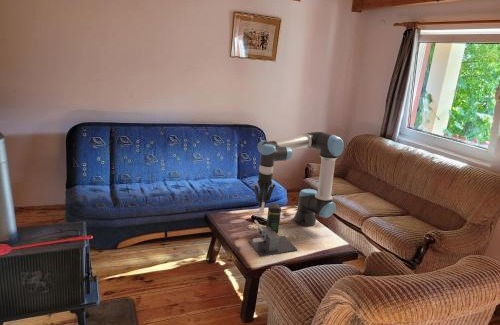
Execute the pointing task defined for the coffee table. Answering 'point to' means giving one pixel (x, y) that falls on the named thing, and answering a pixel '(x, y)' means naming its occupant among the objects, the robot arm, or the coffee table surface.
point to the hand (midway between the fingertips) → (261, 212)
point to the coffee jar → (273, 216)
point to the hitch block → (272, 243)
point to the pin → (259, 239)
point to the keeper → (259, 227)
